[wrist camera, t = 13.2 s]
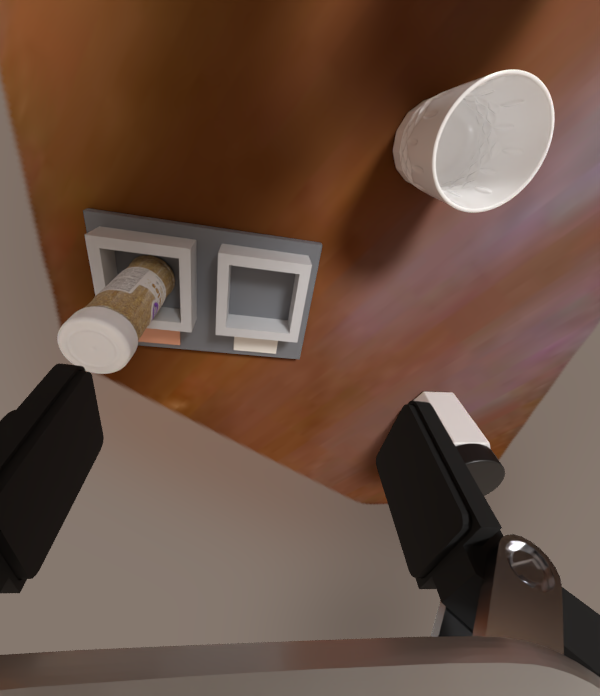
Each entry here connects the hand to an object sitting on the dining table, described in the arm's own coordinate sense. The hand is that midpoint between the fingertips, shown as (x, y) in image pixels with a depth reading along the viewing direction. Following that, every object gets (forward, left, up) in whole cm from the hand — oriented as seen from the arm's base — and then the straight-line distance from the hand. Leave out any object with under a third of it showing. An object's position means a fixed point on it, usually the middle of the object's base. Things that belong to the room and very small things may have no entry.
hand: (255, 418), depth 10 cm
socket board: (+8, -5, -26) cm, 28 cm away
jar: (+23, +27, -27) cm, 44 cm away
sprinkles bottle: (+6, -10, -26) cm, 28 cm away
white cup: (-9, +14, -27) cm, 31 cm away
